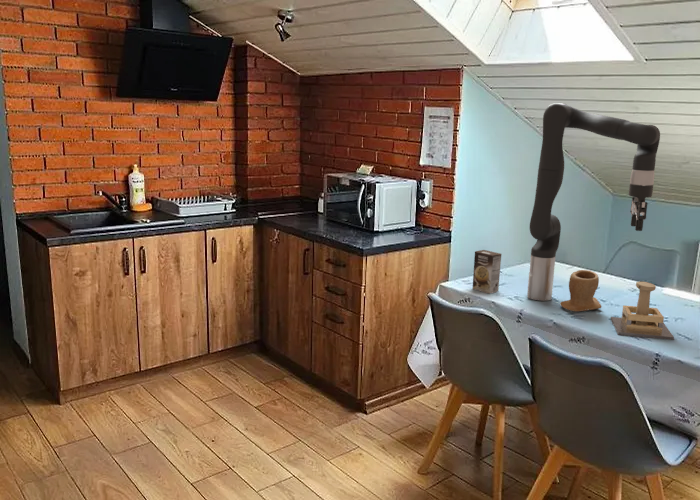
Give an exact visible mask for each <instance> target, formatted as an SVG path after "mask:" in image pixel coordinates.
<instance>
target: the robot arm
mask: <svg viewBox="0 0 700 500" xmlns="http://www.w3.org/2000/svg"><path fill="white" fill-rule="evenodd" d="M565 129H578V130H584V131H587V132H591V133H594V134H596V135H600V136H602V137H606V138H610V139H614V140H621V141H625V142H629V143H630V144H631V143H632V144H635V145H637V146H636V153H635V154H634V157H633V161H632V171H631V173H630V177H629V178H630V180H629V188H628V189H629V190H628V196H629V197H631V203H630V204H631V206H630V215H631V216H630V217H631V218H630V219H631V220H630V227H635V228H634V230H635V231H637V232H642V231H643V228H644V221H645V220H646V219H647V212H648V211H647V209H648V205H649V204H648V202H647V201H646V199H648V198H652V197H653V191H654V182H655V168H656V160H657V152H658V149H659V145H660V142H661V141H660V140H661V131H660V129H659V128H658V127H657V126H655V124H642V123H638V122H632V121H630V120H627V119H624V118H623V119H622V118H618V117H614V116H608V115H602V114H597V113H596V114H595V113H591V112H588V111H583V110H580V109H577V108H575V107H573V106H571V105H567V104H566V103H562V102H560V103H559V102H555V103H551V104H549V105H548V106H547V107H546V108H545V109H544V112H543V117H542V143H541V150H540V157H539V163H538V169H537V179H536V180H537V181H536V188H535V196H534V204H533V208H532V212H531V217H530V222H529V232H530V233H529V234H530V235H531V236H532V237H533V238H534V239H535V240H536V242H535V244H534V245H533V246H532V247H531V250H530V260H529V261H530V262H529V264H530V265H529V272H528V282H527V283H528V285H527V293H526V294H527V295H526V296H527V299H530V300H534V301H541V302H543V301H544V302H547V301H551V300H552V299H553V297H552V296H553V290H554V288H553V287H554V277H555V266H556V254H557V251H558V249H559V245H560V239H561V229H562V225H561V221H560V219H559V218H558V217H557V216H556V215H554V214H552V207H553V205H554V202H555V199H556V198H557V195H558V193H559V191H560V189H561V186H562V184H563V180H564V175H565V174H564V173H565V156H564V149H563V147H564V146H563V139H564V133H565Z"/></svg>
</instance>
